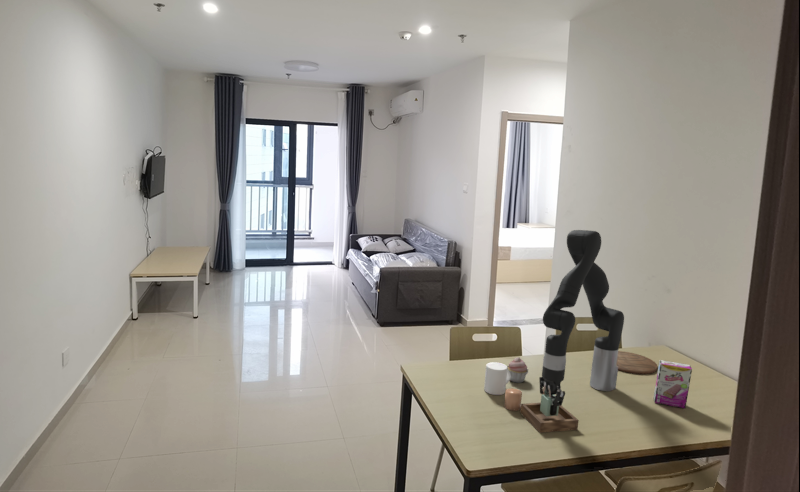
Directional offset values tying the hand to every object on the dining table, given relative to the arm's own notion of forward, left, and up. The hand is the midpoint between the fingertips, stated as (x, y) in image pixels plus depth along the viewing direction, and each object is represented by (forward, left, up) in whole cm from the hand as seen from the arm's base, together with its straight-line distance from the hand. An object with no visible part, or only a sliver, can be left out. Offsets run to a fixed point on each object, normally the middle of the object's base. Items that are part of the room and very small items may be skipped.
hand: (549, 411), depth 192 cm
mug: (+7, -27, -4) cm, 28 cm away
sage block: (0, 0, -1) cm, 1 cm away
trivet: (-67, -46, -4) cm, 81 cm away
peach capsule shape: (+8, -12, -4) cm, 15 cm away
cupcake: (-5, -35, -4) cm, 36 cm away
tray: (0, 0, -4) cm, 4 cm away
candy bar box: (-56, -6, -4) cm, 56 cm away
